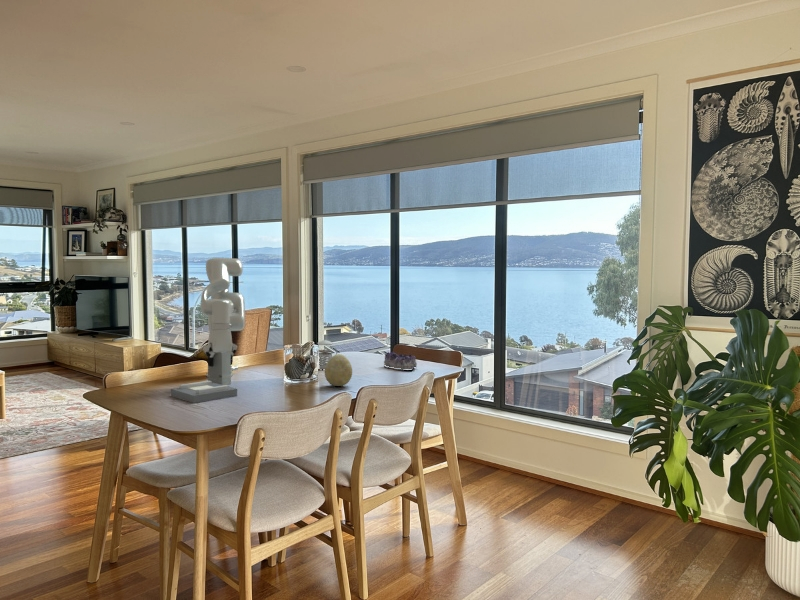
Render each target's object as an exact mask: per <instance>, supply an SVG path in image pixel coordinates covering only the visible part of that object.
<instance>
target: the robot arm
mask: <svg viewBox="0 0 800 600" xmlns="http://www.w3.org/2000/svg"><path fill="white" fill-rule="evenodd" d="M243 267H244V266H243V262H242V260H241V258H229V257H225V258H224V257H213V258H209V259H207V261H206V263H205V270H206V276H207V279H208V281H209V284H207V286H206V287H204V289H203V290H202V293H201V296H200V311H201V313H202V314H203V315H205V316H207V317H208V318H207V324H208V331H209V333H208V342H207V345H205V346H203V348H202V351H203V353H204V355H205V356H206V358H207V367H208V366H210V367H213V366H214V358H212V357H213V355H214V354H215V353H219V352H226V351H229V352H230V351H231V377H232V376H233V375H234V373H233V371H238V370H239V366H236V365H235V366H233V362H234V360H233V359H234V357H233V356H235V353H236V352H237V349H238V345H237V344H236V343H233V338H232V337H233V336H232V332H239V331H242V330H244V329H245V326H246V307H245V298H244V295H243V294H242V293H240V292H230V285H231V277H241V276H242V274H243V270H244V269H243ZM210 297H211V298H210ZM206 377H207V378H208V372H207V373H206Z"/></svg>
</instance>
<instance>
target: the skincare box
mask: <svg viewBox="0 0 800 600" xmlns="http://www.w3.org/2000/svg"><path fill="white" fill-rule="evenodd" d="M212 358H214V366H213V367H210V366H208V365H207V373H208V377H207V381H212V383H217V384H221V385H228V386H231V384H232V376H231V366H232V365H231V351H230V352H229V351H226V352H219V353H215V354H214V355H213V357H212Z"/></svg>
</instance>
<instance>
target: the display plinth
mask: <svg viewBox="0 0 800 600" xmlns="http://www.w3.org/2000/svg"><path fill="white" fill-rule="evenodd" d="M178 386H179V387H174V388H170V397H173V398H176V399H179V400H183V401H186V402H189V403H193V404H198V403H203V402H209V401H210V402H211V401H215V399H216V400H220V399H221V398H222V399H227V397H228V398H232V397H238V388H236V387H231V386H230V385H221V384H217V383H212V381H208V380H204V381H198V382H197V381H196V382H190V383H183V384H179V385H178ZM222 399H221V400H222Z"/></svg>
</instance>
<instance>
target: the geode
mask: <svg viewBox="0 0 800 600" xmlns="http://www.w3.org/2000/svg"><path fill="white" fill-rule="evenodd" d="M416 359H417V358H416V356H415V355H411V354H402V353H400V354H397V353H395V351H393V350H392V351H391V352H387V353H384V361H383V366H384V365H386V366H389V367H394V368H401V369H413V368H414V367H416V368H417V366H418V365H417V360H416ZM414 369H415V368H414ZM414 369H413V370H414Z"/></svg>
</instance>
